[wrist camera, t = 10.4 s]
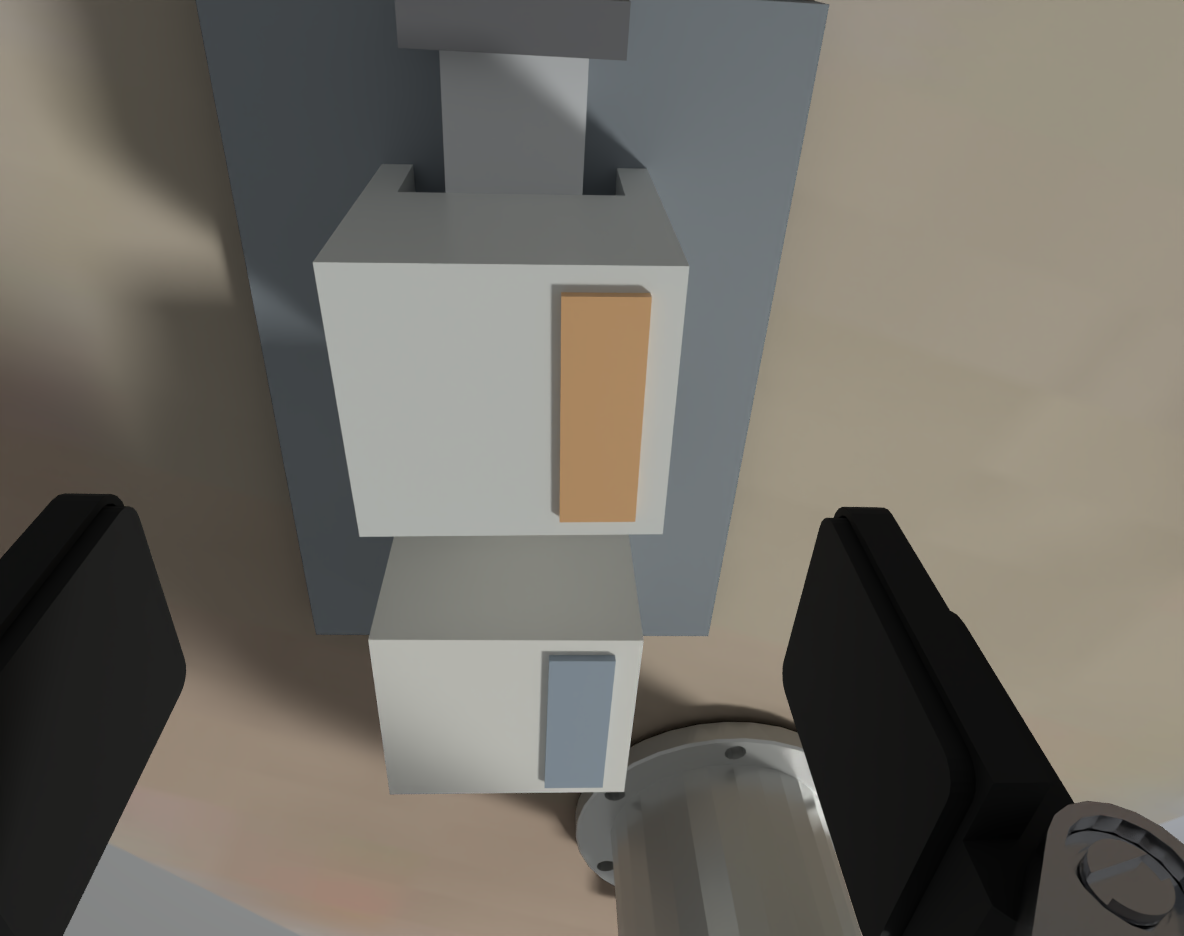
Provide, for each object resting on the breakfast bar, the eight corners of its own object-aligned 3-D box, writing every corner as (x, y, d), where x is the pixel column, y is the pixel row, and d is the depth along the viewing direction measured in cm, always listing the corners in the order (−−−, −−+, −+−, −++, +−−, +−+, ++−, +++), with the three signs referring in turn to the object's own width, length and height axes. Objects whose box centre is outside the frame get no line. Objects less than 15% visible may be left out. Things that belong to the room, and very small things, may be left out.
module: (632, 383, 23) (663, 540, 17) (406, 382, 23) (357, 542, 17) (647, 168, 20) (691, 269, 14) (382, 163, 19) (310, 266, 13)
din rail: (703, 616, 30) (750, 817, 23) (322, 614, 29) (254, 823, 22) (816, 1, 19) (970, 40, 12) (205, -38, 18) (-4, -19, 11)
